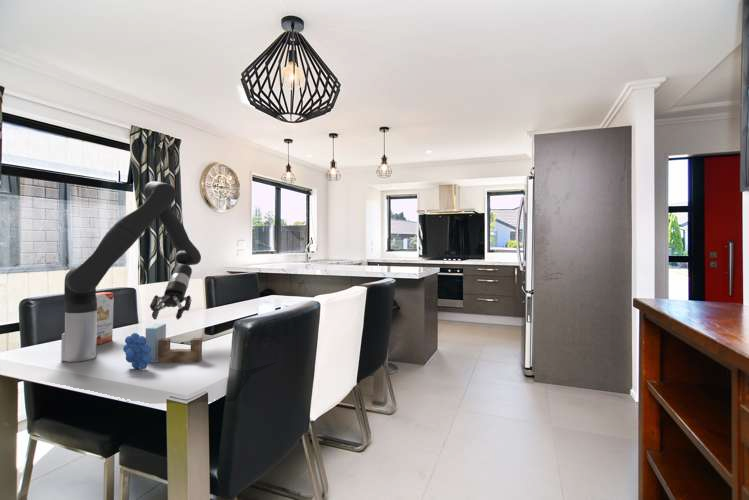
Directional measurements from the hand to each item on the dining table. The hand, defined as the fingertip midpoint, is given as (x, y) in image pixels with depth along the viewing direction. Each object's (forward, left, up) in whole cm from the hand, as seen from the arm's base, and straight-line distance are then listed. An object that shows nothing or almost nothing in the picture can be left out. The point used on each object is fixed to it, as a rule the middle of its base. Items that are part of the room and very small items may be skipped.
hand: (165, 318), depth 150 cm
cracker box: (-34, +14, -13) cm, 39 cm away
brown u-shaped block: (+10, -13, -13) cm, 21 cm away
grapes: (-1, -22, -13) cm, 25 cm away
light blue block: (0, -9, -13) cm, 16 cm away
